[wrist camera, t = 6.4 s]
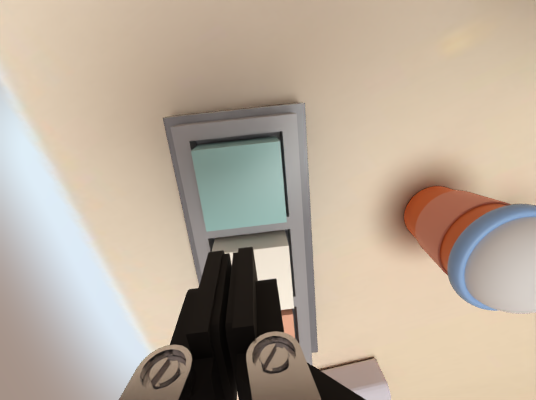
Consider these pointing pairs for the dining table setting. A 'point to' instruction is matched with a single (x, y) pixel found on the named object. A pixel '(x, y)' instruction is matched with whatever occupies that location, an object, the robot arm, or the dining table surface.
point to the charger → (362, 379)
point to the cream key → (265, 258)
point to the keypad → (295, 189)
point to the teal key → (240, 183)
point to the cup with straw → (479, 246)
